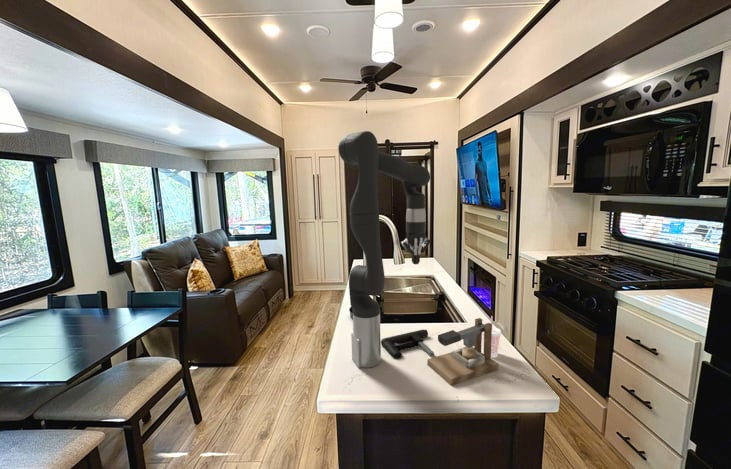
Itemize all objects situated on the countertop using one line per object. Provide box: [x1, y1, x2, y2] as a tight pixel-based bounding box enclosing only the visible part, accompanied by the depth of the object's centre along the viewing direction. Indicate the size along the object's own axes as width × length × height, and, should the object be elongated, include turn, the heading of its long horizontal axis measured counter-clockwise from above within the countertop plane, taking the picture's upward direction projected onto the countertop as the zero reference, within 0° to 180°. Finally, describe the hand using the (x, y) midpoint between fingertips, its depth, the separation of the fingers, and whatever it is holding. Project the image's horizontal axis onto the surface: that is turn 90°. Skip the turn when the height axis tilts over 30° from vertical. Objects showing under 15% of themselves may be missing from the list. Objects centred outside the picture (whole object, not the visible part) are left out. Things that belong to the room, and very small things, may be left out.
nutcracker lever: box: [437, 322, 485, 348], centre depth 97 cm, size 18×4×6 cm, turn 113°
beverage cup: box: [482, 315, 502, 359], centre depth 105 cm, size 6×6×14 cm
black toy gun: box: [380, 329, 435, 359], centre depth 111 cm, size 3×20×16 cm
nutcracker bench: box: [426, 317, 500, 386], centre depth 97 cm, size 19×12×14 cm, turn 113°
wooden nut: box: [462, 346, 475, 360], centre depth 99 cm, size 4×4×4 cm
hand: (415, 263), depth 119 cm, fingers closed
